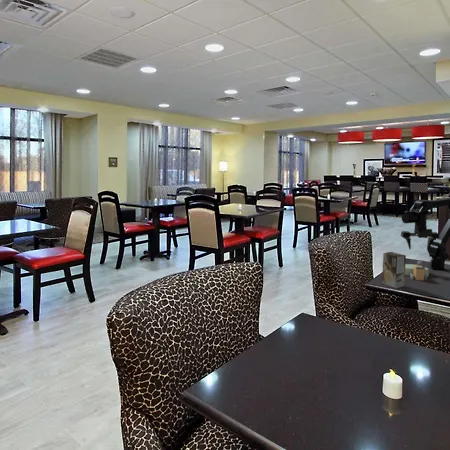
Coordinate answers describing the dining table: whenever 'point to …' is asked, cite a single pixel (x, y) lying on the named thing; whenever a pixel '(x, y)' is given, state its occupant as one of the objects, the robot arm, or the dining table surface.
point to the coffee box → (393, 269)
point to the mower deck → (410, 269)
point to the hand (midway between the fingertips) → (418, 249)
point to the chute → (418, 272)
